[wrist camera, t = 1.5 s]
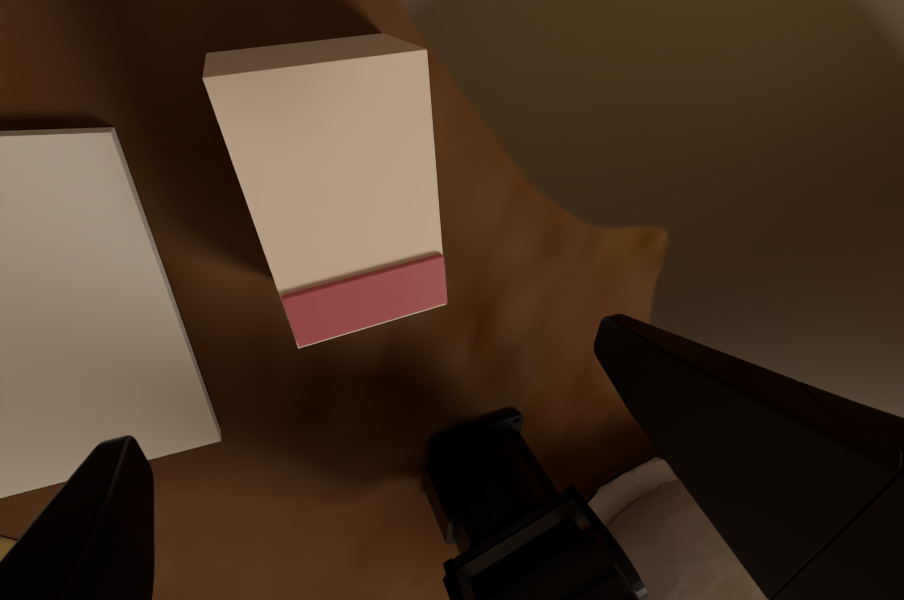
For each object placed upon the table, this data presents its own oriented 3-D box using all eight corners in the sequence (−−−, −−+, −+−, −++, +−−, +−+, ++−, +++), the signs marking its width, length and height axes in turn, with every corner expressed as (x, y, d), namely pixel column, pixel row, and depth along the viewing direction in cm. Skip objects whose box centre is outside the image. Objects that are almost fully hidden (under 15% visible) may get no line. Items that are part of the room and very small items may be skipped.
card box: (206, 52, 14) (202, 80, 10) (381, 32, 15) (430, 50, 12) (283, 281, 19) (299, 353, 15) (408, 249, 20) (449, 308, 17)
